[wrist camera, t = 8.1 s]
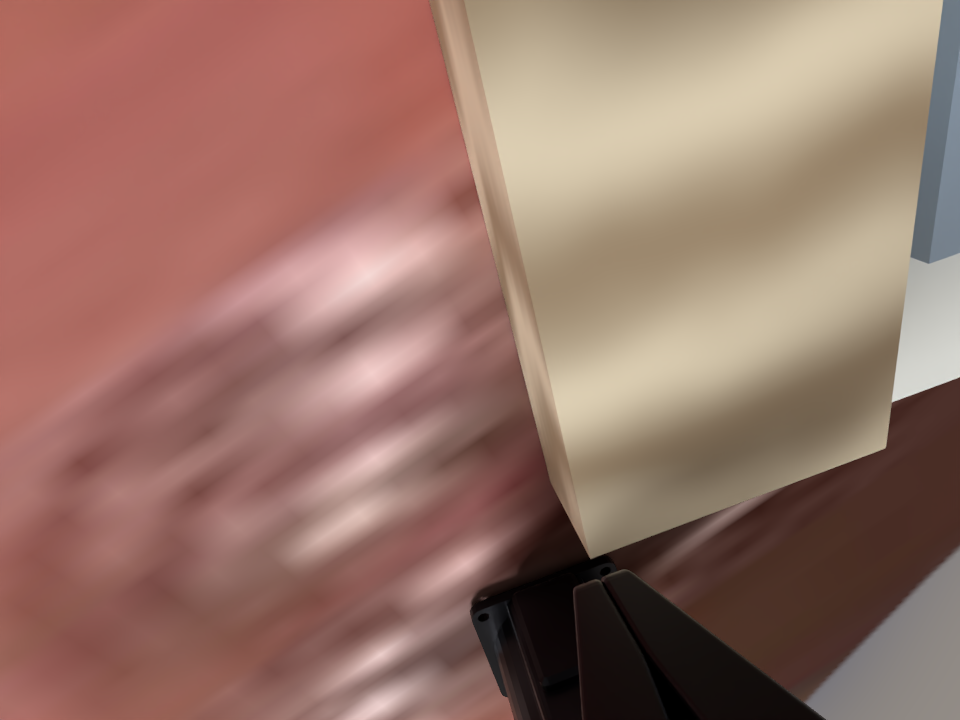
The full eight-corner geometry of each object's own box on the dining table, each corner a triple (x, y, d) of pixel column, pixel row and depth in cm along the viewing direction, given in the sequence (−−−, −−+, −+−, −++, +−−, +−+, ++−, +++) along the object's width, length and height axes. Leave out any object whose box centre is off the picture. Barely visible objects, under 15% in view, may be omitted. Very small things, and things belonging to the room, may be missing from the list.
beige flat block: (805, 390, 24) (885, 448, 21) (550, 482, 23) (590, 559, 20) (830, -292, 14) (994, -398, 11) (385, -174, 13) (407, -249, 10)
